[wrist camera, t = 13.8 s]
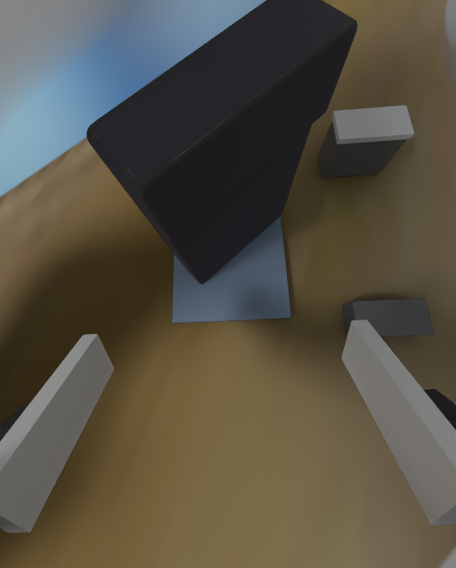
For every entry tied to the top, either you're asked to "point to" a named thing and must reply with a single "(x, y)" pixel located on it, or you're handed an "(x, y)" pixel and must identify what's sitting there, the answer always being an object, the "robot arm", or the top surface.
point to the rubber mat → (237, 285)
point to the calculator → (227, 129)
